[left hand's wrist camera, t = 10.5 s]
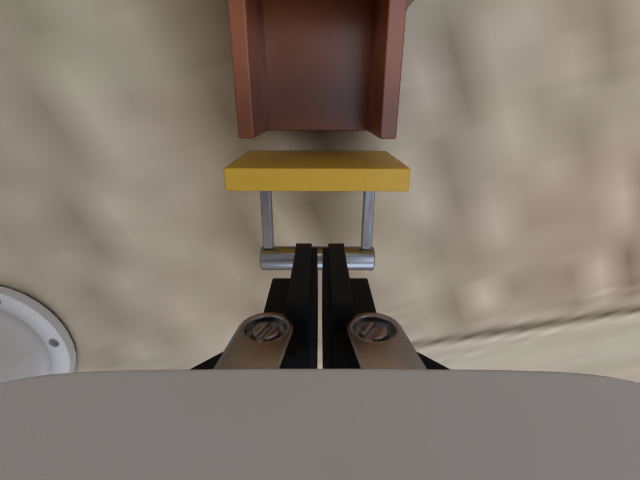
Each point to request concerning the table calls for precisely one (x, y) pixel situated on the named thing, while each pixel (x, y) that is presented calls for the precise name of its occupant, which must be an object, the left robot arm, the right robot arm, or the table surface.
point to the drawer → (317, 103)
